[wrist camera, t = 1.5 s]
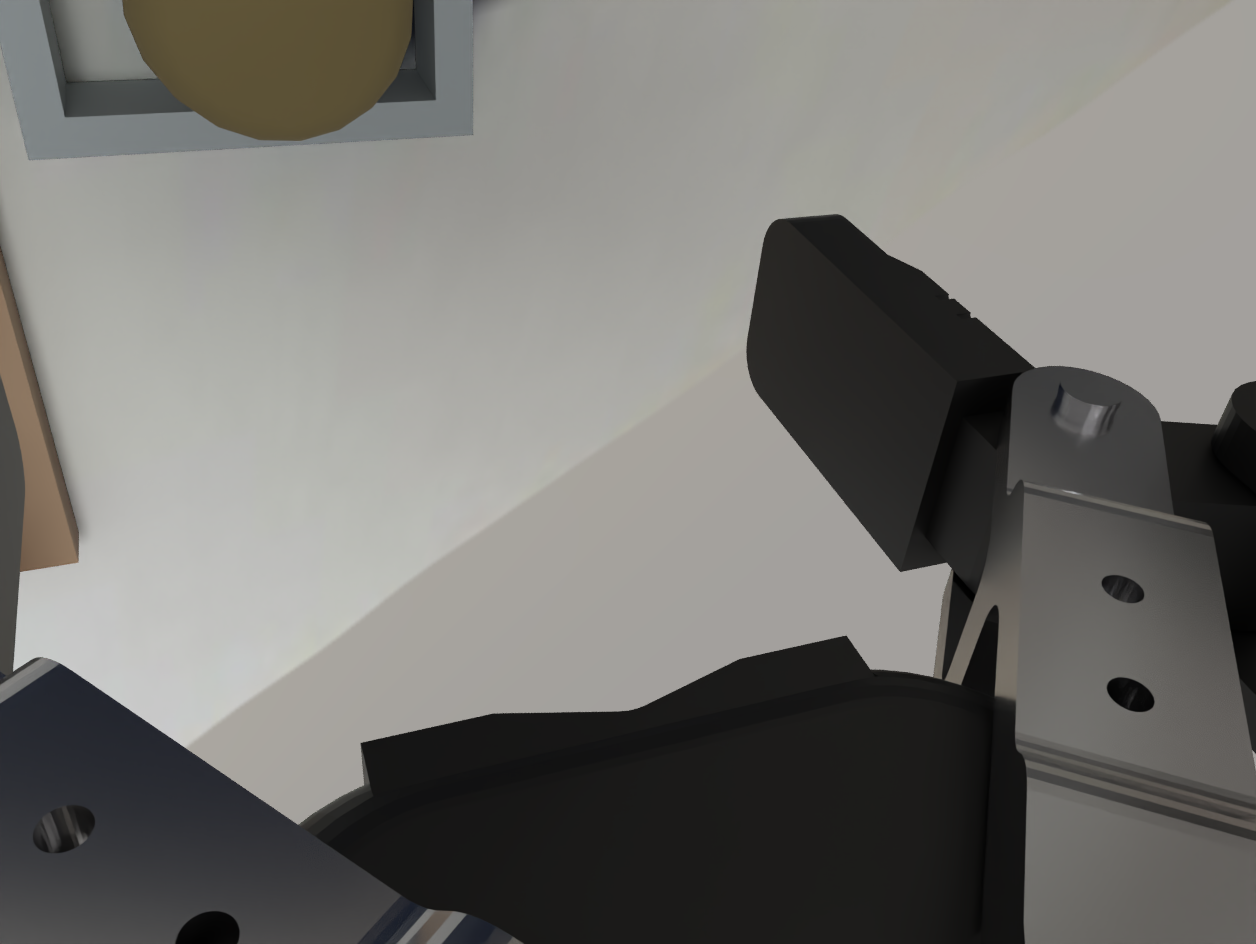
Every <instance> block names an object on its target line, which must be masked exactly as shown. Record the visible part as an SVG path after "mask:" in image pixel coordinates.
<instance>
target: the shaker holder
mask: <svg viewBox="0 0 1256 944" xmlns="http://www.w3.org/2000/svg"><path fill="white" fill-rule="evenodd" d="M414 20H415V50H416V70H399V72H398V75H397V77H396V78H395V80H394V81H393V82H392V83H391V85H390V86H389V87H388V89H387V90H386V91H385V92H384V94H383V95H382V96H381V97H380V99H379V100H378V101H377V103H376V104H375V105H374V106H373V108H371V109H370V110H368V111H367V112H365V113H364V114H362V115H361V116H359V117H358V118H356V119H355V120H353V121H352V122H351V123H349V124H348V125H346V126H345V127H343V128H342V129H340V130H337V131H334V132H330V133H327V134H323V135H320V136H317V137H313V138H310V139H306V140H303V141H274V140H257V139H254V138H251V137H248V136H244V135H241V134H238V133H235V132H232V131H229V130H226V129H222V128H219V127H217V126H216V125H214V124H213V123H211V122H210V121H208V120H207V119H205V118H204V117H202V116H201V115H199V114H198V113H196V112H195V111H193V110H192V109H190V108H189V107H187V106H186V105H184V104H183V103H181V102H180V101H179V100H177V99H176V98H175V97H174V96H173V95H172V94H171V93H170V91H169V90H168V89H167V88H166V87H165V85H164V84H163V83H162V82H161V81H160V79H150V80H123V81H97V82H70V83H66V79H65V74H64V70H63V65H62V60H61V56H60V51H59V46H58V42H57V37H56V32H55V28H54V23H53V19H52V14H51V9H50V5H49V0H0V45H1V49H2V53H3V57H4V61H5V65H6V70H7V74H8V78H9V82H10V86H11V90H12V94H13V98H14V102H15V106H16V110H17V114H18V118H19V122H20V127H21V131H22V135H23V139H24V143H25V147H26V151H27V155H28V159H29V160H42V159H60V158H77V157H95V156H112V155H130V154H147V153H165V152H183V151H200V150H218V149H235V148H253V147H270V146H288V145H305V144H323V143H341V142H358V141H376V140H393V139H411V138H428V137H446V136H464V135H473V0H414Z"/></svg>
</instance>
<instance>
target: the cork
mask: <svg viewBox="0 0 1256 944" xmlns="http://www.w3.org/2000/svg"><path fill="white" fill-rule="evenodd" d="M122 1H123V11H124V17H125V19H126V21H127V24H128V26H129V28H130V31H131V33H132V35H133V37H134V40H135V42H136V44H137V47H138V49H139V51H140V54H141V56H142V58H143V60H144V62H145V63H146V64H147V65H148V66H149V67H150V69H151V70H152V71H153V72H154V73H155V75H156V76H157V77H158V78H159V79H160V81H161V82H162V83H163V84H164V85H165V87H166V88H167V89H168V90H169V91H170V93H171V94H172V95H173V96H174V97H175V98H176V99H177V100H179V101H180V102H181V103H183V104H184V105H186V106H187V107H189V108H190V109H192V110H193V111H195V112H196V113H198V114H199V115H201V116H202V117H204V118H205V119H207V120H208V121H210V122H211V123H213V124H214V125H216V126H217V127H219V128H222V129H226V130H229V131H232V132H235V133H238V134H241V135H244V136H248V137H251V138H254V139H257V140H274V141H303V140H306V139H310V138H313V137H317V136H320V135H323V134H327V133H330V132H334V131H337V130H340V129H342V128H343V127H345V126H346V125H348V124H349V123H351V122H352V121H353V120H355V119H356V118H358V117H359V116H361V115H362V114H364V113H365V112H367V111H368V110H370V109H371V108H373V106H374V105H375V104H376V103H377V101H378V100H379V99H380V97H381V96H382V95H383V94H384V92H385V91H386V90H387V89H388V87H389V86H390V85H391V83H392V82H393V81H394V80H395V78H396V77H397V75H398V72H399V69H400V67H401V64H402V61H403V58H404V56H405V53H406V50H407V47H408V45H409V42H410V39H411V32H412V10H413V0H122Z"/></svg>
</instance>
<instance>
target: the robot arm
mask: <svg viewBox="0 0 1256 944" xmlns="http://www.w3.org/2000/svg"><path fill="white" fill-rule="evenodd" d="M948 295H949V294H948V293H947V292H946V291H944V290H943V289H942V288H941V287H940V286H939V285H937V284H936V283H935V282H934V281H933V280H932V279H930V278H929V277H928V276H927V275H926V274H925V273H923V272H922V271H920V270H919V269H916V268H914V267H912V266H910V265H908V264H906V263H904V262H902V261H900V260H898V259H896V258H894V257H891V256H889V255H887V254H886V253H885V252H884V251H883V250H882V249H880V248H879V247H878V246H877V245H876V244H875V243H874V242H872V241H871V240H870V239H869V238H868V237H867V236H866V235H864V234H863V233H862V232H861V231H860V230H859V229H857V228H856V227H855V226H854V225H853V224H852V223H851V222H849V221H848V220H847V219H846V218H845V217H843V216H841V215H838V214H833V215H821V216H810V217H798V218H786V219H778V220H775V221H774V222H773V223H772V224H771V225H770V227H769V228H768V230H767V232H766V235H765V238H764V242H763V247H762V253H761V259H760V265H759V272H758V278H757V284H756V290H755V296H754V302H753V308H752V314H751V320H750V326H749V332H748V338H747V363H748V370H749V374H750V378H751V381H752V383H753V386H754V388H755V390H756V392H757V393H758V395H759V396H760V397H761V399H762V400H763V401H764V402H765V404H766V405H767V406H768V407H769V409H770V410H771V411H772V412H773V414H774V415H775V416H776V417H777V419H778V420H779V421H780V422H781V424H782V425H783V426H784V427H785V429H786V430H787V431H788V432H789V433H790V435H791V436H792V437H793V439H794V440H795V441H796V442H797V444H798V445H799V446H800V447H801V449H802V450H803V451H804V452H805V454H806V455H807V456H808V457H809V459H810V460H811V461H812V462H813V464H814V465H815V466H816V467H817V469H819V471H820V472H821V473H822V475H823V476H824V477H825V479H826V480H827V481H828V482H829V484H830V485H831V486H832V487H833V489H834V490H835V491H836V492H837V494H838V495H839V496H840V497H841V499H842V500H843V501H844V502H845V504H846V505H847V506H848V507H849V509H850V510H851V511H852V512H853V513H854V515H855V516H856V517H857V518H858V520H859V521H860V522H861V524H862V525H863V526H864V527H865V529H866V530H867V531H868V532H869V534H870V535H871V536H872V537H873V539H874V540H875V541H876V542H877V544H878V545H879V546H880V547H881V549H882V550H883V551H884V552H885V554H886V555H887V556H888V557H889V559H890V560H891V561H892V562H893V564H894V565H895V566H896V567H897V569H898V570H899V571H900V572H902V571H907V570H912V569H917V568H922V567H927V566H932V565H937V564H942V563H948V564H949V566H950V567H951V568H952V569H951V572H950V576H949V579H948V582H947V584H946V587H945V591H944V594H943V599H942V608H941V616H940V624H939V632H938V641H937V650H936V657H935V666H934V674H933V677H930V676H924V675H919V674H913V673H908V672H899V671H888V670H870V669H869V667H868V666H867V664H866V663H865V661H864V660H863V659H862V657H861V656H860V654H859V653H858V651H857V650H856V649H855V648H854V646H853V644H852V643H851V641H850V640H849V639H848V637H847V636H842V637H838V638H833V639H828V640H824V641H819V642H815V643H810V644H806V645H801V646H797V647H793V648H788V649H783V650H779V651H774V652H770V653H765V654H761V655H756V656H752V657H747V658H742V659H739V660H737V661H735V662H733V663H731V664H729V665H727V666H725V667H723V668H721V669H719V670H717V671H714V672H713V673H710V674H709V675H706V676H705V677H702V678H700V679H698V680H696V681H694V682H692V683H690V684H688V685H686V686H684V687H682V688H680V689H678V690H676V691H674V692H672V693H670V694H668V695H666V696H664V697H662V698H660V699H657V700H655V701H653V702H651V703H649V704H648V705H645V706H643V707H640V708H638V709H634V710H629V711H620V712H562V713H505V714H504V713H503V714H490V715H485V716H481V717H476V718H471V719H467V720H462V721H458V722H453V723H450V724H445V725H440V726H435V727H431V728H426V729H422V730H417V731H413V732H408V733H404V734H399V735H395V736H390V737H386V738H381V739H377V740H372V741H368V742H363V743H361V753H362V764H363V775H364V786H362V787H359V788H357V789H355V790H354V791H351V792H349V793H348V794H345V795H343V796H341V797H339V798H338V799H336V800H335V801H333V802H331V803H330V804H328V805H326V806H325V807H323V808H322V809H320V810H318V811H317V812H315V813H313V814H312V815H311V816H309V817H308V818H307V819H305V820H304V821H303V822H301V823H300V824H299V825H297V824H296V823H294V822H293V821H291V820H290V819H289V818H287V817H285V816H284V815H283V814H281V813H280V812H278V811H277V810H275V809H274V808H272V807H271V806H269V805H268V804H266V803H265V802H264V801H262V800H261V799H259V798H258V797H256V796H255V795H253V794H252V793H250V792H249V791H247V790H246V789H245V788H243V787H242V786H240V785H239V784H237V783H236V782H234V781H233V780H231V779H230V778H228V777H227V776H225V775H224V774H223V773H221V772H220V771H218V770H217V769H215V768H214V767H212V766H211V765H209V764H208V763H206V762H205V761H203V760H202V759H201V758H199V757H198V756H196V755H195V754H193V753H192V752H190V751H189V750H187V749H186V748H184V747H183V746H181V745H180V744H179V743H177V742H176V741H174V740H173V739H171V738H170V737H168V736H167V735H165V734H164V733H162V732H161V731H159V730H158V729H157V728H155V727H154V726H152V725H151V724H149V723H148V722H146V721H145V720H143V719H142V718H140V717H139V716H138V715H136V714H135V713H133V712H132V711H130V710H129V709H127V708H126V707H124V706H123V705H121V704H120V703H118V702H117V701H116V700H114V699H113V698H111V697H110V696H108V695H107V694H105V693H104V692H102V691H101V690H99V689H98V688H96V687H95V686H94V685H92V684H91V683H89V682H88V681H86V680H85V679H83V678H82V677H80V676H79V675H77V674H76V673H74V672H73V671H72V670H70V669H68V668H67V667H65V666H63V665H62V664H60V663H58V662H56V661H53V660H51V659H47V658H43V657H39V658H34V659H32V660H30V661H29V662H27V663H26V664H24V665H23V666H21V667H20V668H18V669H17V670H15V671H14V672H13V662H14V648H15V633H16V619H17V604H18V590H19V576H20V561H21V547H22V532H23V518H24V503H25V477H24V467H23V460H22V454H21V449H20V444H19V439H18V435H17V431H16V427H15V423H14V420H13V417H12V413H11V410H10V406H9V403H8V399H7V396H6V393H5V389H4V386H3V382H2V379H1V375H0V944H1256V770H1255V764H1254V758H1253V753H1252V750H1253V751H1254V752H1255V753H1256V381H1254V382H1249V383H1246V384H1243V385H1241V386H1239V387H1238V388H1236V389H1235V391H1234V392H1233V394H1232V396H1231V398H1230V400H1229V402H1228V404H1227V406H1226V408H1225V410H1224V413H1223V415H1222V417H1221V419H1220V421H1219V423H1218V425H1210V424H1195V423H1180V422H1164V421H1161V420H1160V416H1159V413H1158V412H1157V410H1156V409H1155V407H1154V406H1153V405H1152V404H1151V402H1150V401H1149V400H1148V399H1146V398H1145V397H1144V396H1143V395H1142V394H1141V393H1139V392H1137V391H1136V390H1134V389H1133V388H1131V387H1130V386H1128V385H1126V384H1124V383H1122V382H1120V381H1118V380H1116V379H1113V378H1111V377H1109V376H1106V375H1102V374H1100V373H1096V372H1093V371H1089V370H1085V369H1079V368H1073V367H1064V366H1047V367H1039V368H1034V367H1033V366H1032V365H1031V364H1030V363H1029V362H1027V361H1026V360H1025V359H1024V358H1023V357H1022V356H1020V355H1019V354H1018V353H1017V352H1016V351H1015V350H1013V349H1012V348H1011V347H1010V346H1009V345H1008V344H1006V343H1005V342H1004V341H1003V340H1002V339H1001V338H999V337H998V336H997V335H996V334H995V333H994V332H992V331H991V330H990V329H989V328H988V327H987V326H985V325H984V324H983V323H982V322H981V321H980V320H978V319H977V318H971V317H970V312H969V311H968V310H967V309H966V308H964V307H963V306H962V305H961V304H960V303H959V302H957V301H956V300H955V299H949V297H948Z"/></svg>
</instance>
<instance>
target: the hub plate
mask: <svg viewBox="0 0 1256 944" xmlns="http://www.w3.org/2000/svg"><path fill="white" fill-rule="evenodd" d="M0 375H1V379H2V382H3V386H4V389H5V393H6V396H7V399H8V403H9V406H10V410H11V413H12V417H13V420H14V423H15V427H16V431H17V435H18V439H19V444H20V449H21V454H22V460H23V467H24V477H25V503H24V518H23V532H22V547H21V561H20V572H22V571H29V570H35V569H41V568H47V567H53V566H59V565H66V564H72V563H78V556H79V532H78V528H77V525H76V521H75V517H74V514H73V510H72V506H71V503H70V499H69V496H68V492H67V488H66V485H65V481H64V477H63V474H62V470H61V466H60V463H59V459H58V455H57V452H56V448H55V444H54V441H53V437H52V433H51V430H50V426H49V423H48V419H47V415H46V412H45V408H44V404H43V401H42V397H41V393H40V390H39V386H38V382H37V379H36V375H35V371H34V368H33V364H32V360H31V357H30V353H29V349H28V346H27V342H26V339H25V335H24V331H23V328H22V324H21V320H20V317H19V313H18V309H17V306H16V302H15V298H14V295H13V291H12V287H11V284H10V280H9V276H8V273H7V269H6V266H5V262H4V258H3V255H2V251H1V247H0Z"/></svg>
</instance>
